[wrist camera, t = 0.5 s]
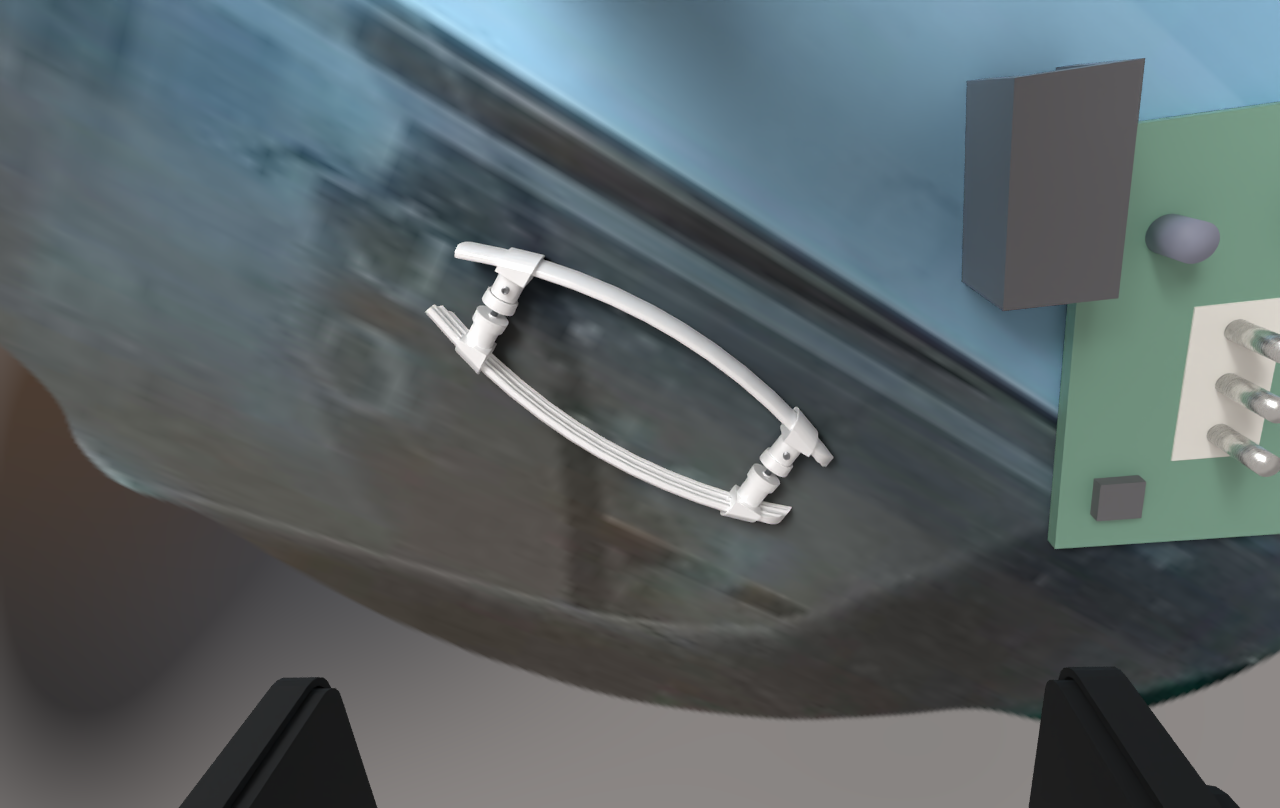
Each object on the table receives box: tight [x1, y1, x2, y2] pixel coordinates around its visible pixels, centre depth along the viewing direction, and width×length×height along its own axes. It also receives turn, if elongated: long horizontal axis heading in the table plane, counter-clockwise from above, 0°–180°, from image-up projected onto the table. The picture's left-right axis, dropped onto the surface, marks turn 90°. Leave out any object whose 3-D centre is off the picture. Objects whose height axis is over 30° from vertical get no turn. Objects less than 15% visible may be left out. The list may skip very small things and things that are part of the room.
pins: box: [1207, 319, 1280, 477], centre depth 37 cm, size 7×1×4 cm, turn 8°
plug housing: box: [962, 58, 1145, 311], centre depth 34 cm, size 10×5×6 cm, turn 8°
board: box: [1048, 102, 1280, 549], centre depth 37 cm, size 24×16×3 cm, turn 8°
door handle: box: [425, 242, 834, 524], centre depth 42 cm, size 3×10×25 cm
